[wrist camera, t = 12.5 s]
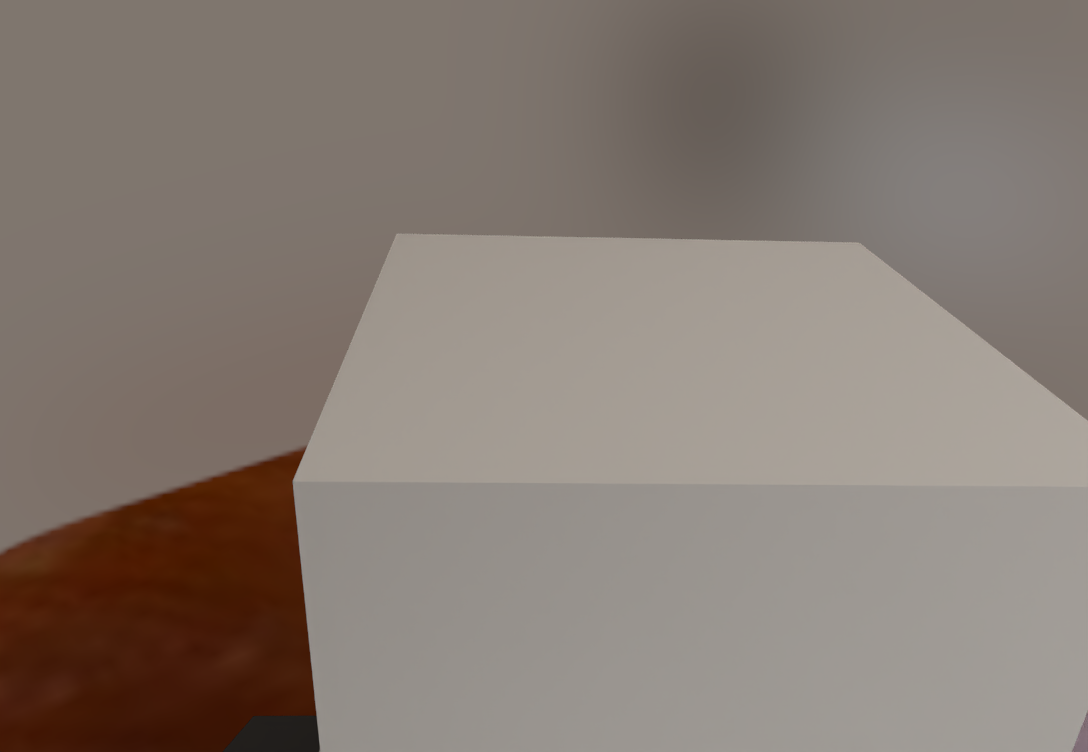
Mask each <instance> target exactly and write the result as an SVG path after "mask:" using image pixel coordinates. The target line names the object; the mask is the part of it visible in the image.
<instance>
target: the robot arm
mask: <svg viewBox="0 0 1088 752" xmlns="http://www.w3.org/2000/svg"><path fill="white" fill-rule="evenodd" d="M223 752H320V743H319V733H318V724H317V716H253V717H252V719H251V720H250V721H249V722H248V723H247V724H246V725H245V727H244V728H243V729H242V730H241V731H240V732H239V733H238V735H237V736H236V737H235V738H234V739H233V740H232V742H231V743H230V744H229V745H228V746H227V747H226V748H225V750H224V751H223Z"/></svg>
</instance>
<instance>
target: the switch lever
mask: <svg viewBox="0 0 1088 752" xmlns="http://www.w3.org/2000/svg"><path fill="white" fill-rule="evenodd" d="M293 490H294V500H295V509H296V519H297V529H298V539H299V548H300V558H301V568H302V578H303V587H304V597H305V607H306V617H307V626H308V636H309V646H310V656H311V665H312V675H313V685H314V695H315V704H316V714H317V724H318V733H319V743H320V752H1072V750H1073V748H1074V745H1075V742H1076V740H1077V737H1078V735H1079V732H1080V729H1081V727H1082V724H1083V722H1084V719H1085V716H1086V714H1087V711H1088V421H1087V420H1086V419H1085V418H1084V417H1082V416H1081V415H1080V414H1078V413H1077V412H1076V411H1075V410H1073V409H1072V408H1071V407H1069V406H1068V405H1067V404H1066V403H1064V402H1063V401H1062V400H1060V399H1059V398H1058V397H1057V396H1055V395H1054V394H1053V393H1051V392H1050V391H1049V390H1048V389H1046V388H1045V387H1044V386H1042V385H1041V384H1040V383H1039V382H1037V381H1036V380H1035V379H1033V378H1032V377H1031V376H1030V375H1028V374H1027V373H1026V372H1024V371H1023V370H1022V369H1021V368H1019V367H1018V366H1017V365H1016V364H1014V363H1013V362H1012V361H1010V360H1009V359H1008V358H1007V357H1005V356H1004V355H1003V354H1001V353H1000V352H999V351H997V350H996V349H995V348H994V347H992V346H991V345H990V344H989V343H987V342H986V341H985V340H983V339H982V338H981V337H979V336H978V335H977V334H976V333H974V332H973V331H972V330H971V329H969V328H968V327H967V326H965V325H964V324H963V323H962V322H960V321H959V320H958V319H956V318H955V317H954V316H952V315H951V314H950V313H949V312H947V311H946V310H945V309H944V308H942V307H941V306H940V305H938V304H937V303H936V302H934V301H933V300H932V299H931V298H929V297H928V296H927V295H926V294H924V293H923V292H922V291H920V290H919V289H918V288H917V287H915V286H914V285H913V284H911V283H910V282H909V281H908V280H906V279H905V278H904V277H902V276H901V275H900V274H898V273H897V272H896V271H895V270H893V269H892V268H891V267H890V266H888V265H887V264H886V263H885V262H883V261H882V260H880V259H879V258H878V257H877V256H876V255H874V254H873V253H872V252H870V251H869V250H868V249H867V248H865V247H864V246H863V245H861V244H860V243H847V242H846V243H845V242H796V241H746V240H744V241H743V240H695V239H643V238H642V239H641V238H593V237H589V238H588V237H542V236H492V235H490V236H489V235H440V234H439V235H437V234H396V237H395V239H394V242H393V244H392V246H391V249H390V251H389V254H388V256H387V258H386V260H385V263H384V265H383V268H382V270H381V272H380V275H379V277H378V280H377V282H376V284H375V287H374V289H373V291H372V294H371V296H370V299H369V301H368V303H367V306H366V308H365V311H364V313H363V316H362V318H361V320H360V323H359V325H358V327H357V329H356V332H355V335H354V337H353V339H352V341H351V344H350V346H349V349H348V351H347V353H346V356H345V358H344V360H343V363H342V365H341V368H340V370H339V372H338V375H337V377H336V379H335V382H334V384H333V387H332V389H331V391H330V394H329V396H328V398H327V401H326V403H325V406H324V408H323V410H322V413H321V415H320V418H319V420H318V422H317V425H316V427H315V429H314V432H313V434H312V437H311V439H310V441H309V444H308V446H307V448H306V451H305V453H304V456H303V458H302V460H301V463H300V465H299V467H298V470H297V472H296V475H295V477H294V479H293Z"/></svg>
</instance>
